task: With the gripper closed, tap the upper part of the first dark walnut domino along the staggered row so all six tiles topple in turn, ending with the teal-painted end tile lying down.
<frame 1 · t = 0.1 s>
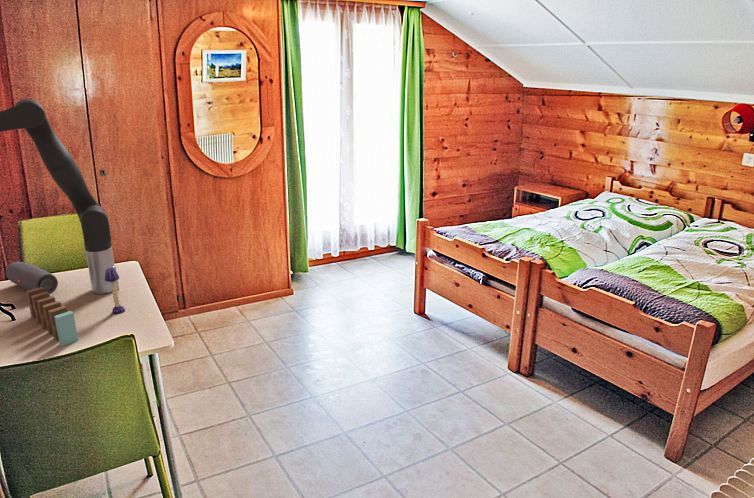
domino 4: (57, 331, 196), on the table
domino 6: (69, 342, 189), on the table
domino 1: (40, 315, 206), on the table
bluetooth speaker: (34, 291, 227), on the table
domino 3: (51, 325, 199), on the table
domino 2: (45, 320, 203), on the table
domino 5: (63, 336, 192), on the table
toy lamp: (117, 311, 210), on the table
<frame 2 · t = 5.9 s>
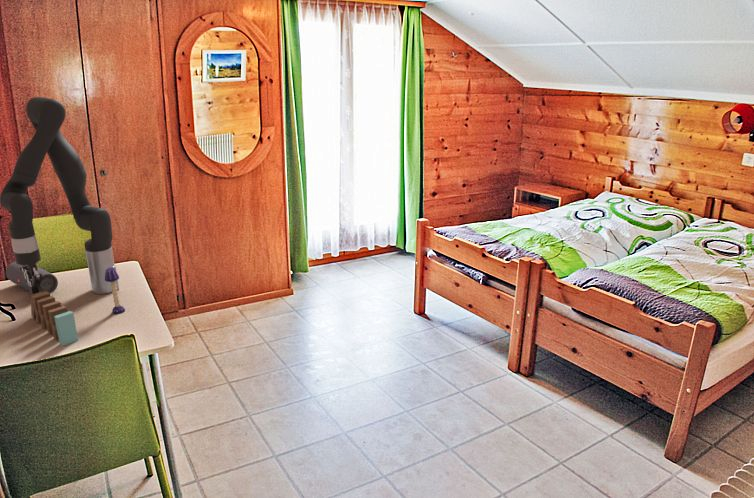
hand: (35, 295, 203), 8 cm above the table, tool pointing down, fingers closed
domino 1: (40, 314, 206), on the table, tilted 24°
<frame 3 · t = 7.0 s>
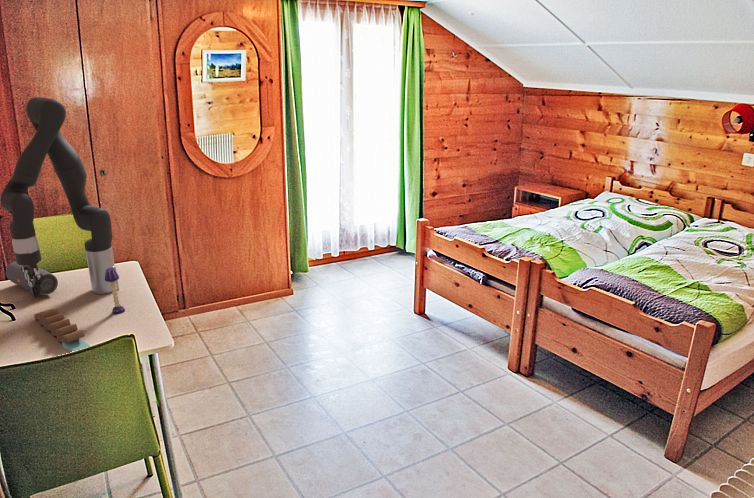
hand: (36, 295, 203), 8 cm above the table, tool pointing down, fingers closed
domino 4: (59, 330, 194), point 1 cm above the table, tilted 68°, touching domino 5
domino 6: (70, 342, 188), on the table, tilted 90°
domino 1: (42, 314, 205), point 1 cm above the table, tilted 68°, touching domino 2
domino 3: (52, 325, 198), point 1 cm above the table, tilted 69°, touching domino 2
domino 2: (47, 320, 201), point 1 cm above the table, tilted 68°, touching domino 1, domino 3
domino 5: (65, 336, 190), point 1 cm above the table, tilted 70°, touching domino 4
everything else where it was.
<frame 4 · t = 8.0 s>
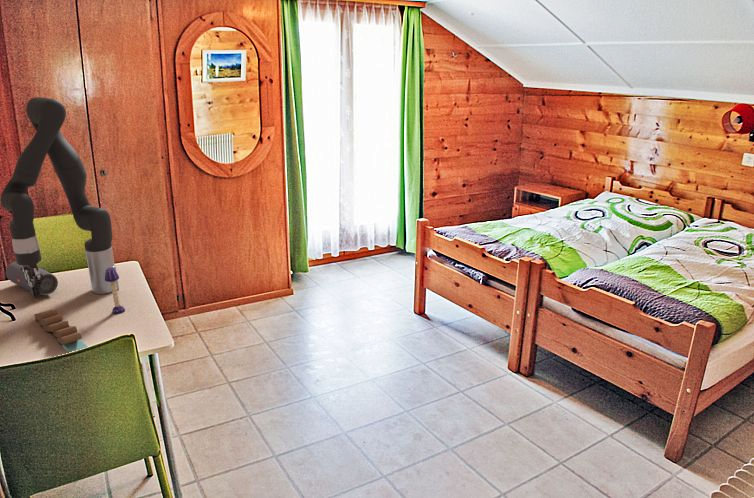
hand: (36, 295, 203), 8 cm above the table, tool pointing down, fingers closed
domino 4: (61, 331, 193), point 1 cm above the table, tilted 69°, touching domino 5
domino 6: (70, 343, 187), on the table, tilted 90°, touching domino 5
domino 5: (66, 337, 189), point 1 cm above the table, tilted 68°, touching domino 4, domino 6
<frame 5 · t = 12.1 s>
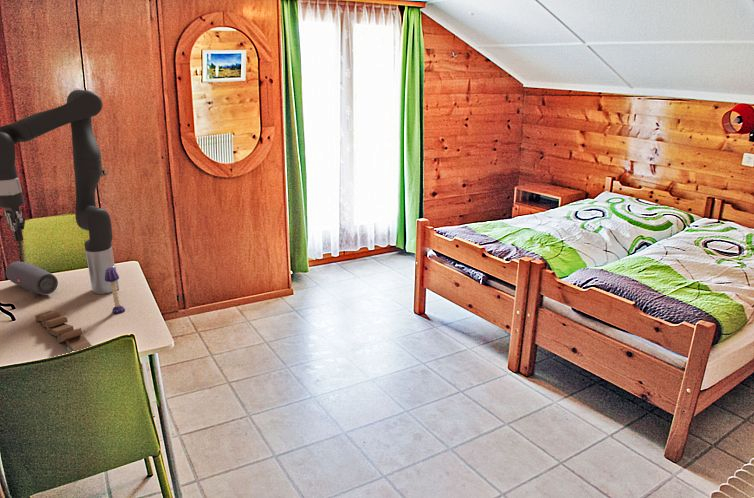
hand: (19, 240, 200), 27 cm above the table, tool pointing down, fingers closed
domino 4: (66, 337, 190), point 1 cm above the table, tilted 60°, touching domino 3, domino 5
domino 6: (75, 346, 185), on the table, tilted 90°, touching domino 5
domino 3: (55, 327, 196), point 1 cm above the table, tilted 77°, touching domino 2, domino 4
domino 2: (49, 321, 200), point 1 cm above the table, tilted 70°, touching domino 1, domino 3
domino 5: (75, 340, 185), point 2 cm above the table, tilted 90°, touching domino 4, domino 6
at the end: domino 6 tilted 90°; domino 1 tilted 72° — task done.
